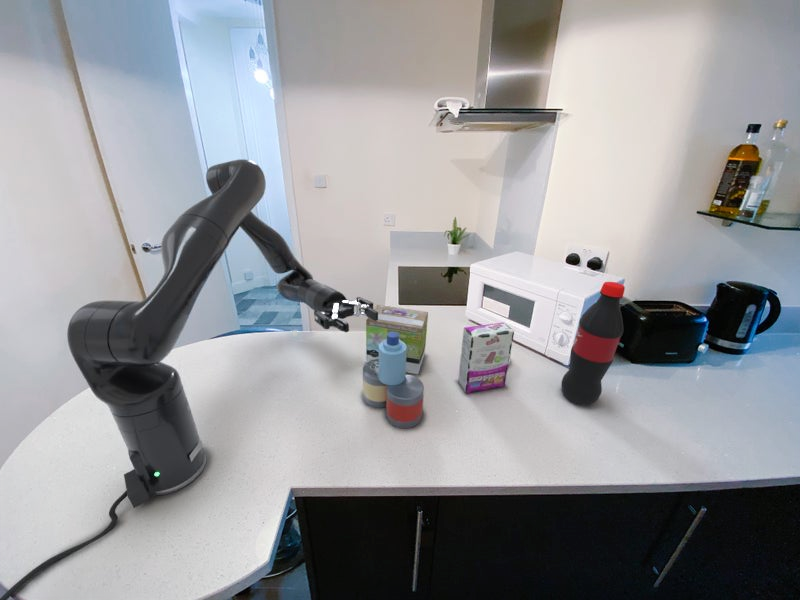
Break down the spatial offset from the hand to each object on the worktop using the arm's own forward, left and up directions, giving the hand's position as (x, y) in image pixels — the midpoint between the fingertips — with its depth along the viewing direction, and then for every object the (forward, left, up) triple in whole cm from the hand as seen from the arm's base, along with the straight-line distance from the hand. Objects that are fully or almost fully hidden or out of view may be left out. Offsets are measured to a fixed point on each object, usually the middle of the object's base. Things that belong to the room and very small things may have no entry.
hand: (362, 322), depth 73 cm
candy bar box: (+22, -20, -18) cm, 35 cm away
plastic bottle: (0, -10, -10) cm, 14 cm away
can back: (0, -6, -18) cm, 19 cm away
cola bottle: (+36, -39, -18) cm, 56 cm away
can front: (0, -14, -18) cm, 23 cm away
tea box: (+13, +2, -18) cm, 22 cm away
